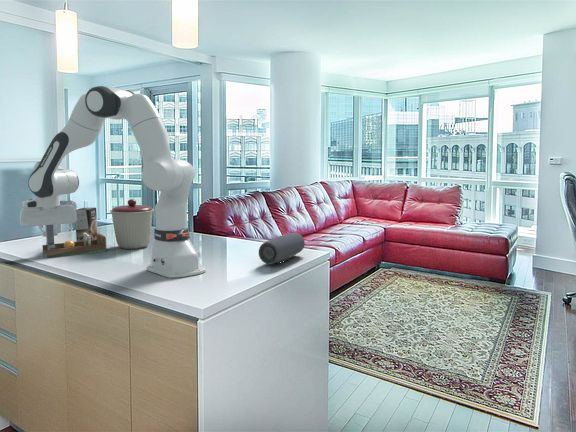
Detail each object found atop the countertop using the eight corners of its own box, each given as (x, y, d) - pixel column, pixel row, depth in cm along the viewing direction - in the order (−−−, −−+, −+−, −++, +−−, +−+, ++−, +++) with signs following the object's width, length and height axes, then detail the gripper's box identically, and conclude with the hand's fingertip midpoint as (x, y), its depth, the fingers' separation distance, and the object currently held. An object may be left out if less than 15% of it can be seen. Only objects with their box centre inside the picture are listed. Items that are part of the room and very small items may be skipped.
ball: (75, 250, 182) (75, 240, 182) (65, 251, 180) (64, 241, 179) (73, 248, 185) (73, 239, 185) (63, 249, 183) (62, 240, 182)
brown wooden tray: (106, 251, 186) (105, 235, 185) (47, 257, 173) (46, 240, 172) (99, 246, 195) (98, 230, 194) (42, 252, 182) (41, 236, 181)
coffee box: (91, 245, 195) (89, 209, 193) (76, 245, 195) (74, 209, 193) (98, 241, 204) (96, 207, 202) (84, 241, 204) (82, 207, 202)
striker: (56, 252, 176) (54, 225, 174) (49, 253, 174) (47, 225, 173) (52, 248, 183) (50, 222, 181) (46, 249, 181) (44, 222, 180)
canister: (129, 253, 182) (127, 202, 179) (102, 247, 192) (100, 199, 189) (163, 245, 197) (162, 198, 194) (137, 241, 207) (135, 196, 204)
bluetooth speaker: (285, 253, 184) (285, 230, 182) (305, 256, 180) (306, 232, 178) (256, 266, 164) (256, 239, 162) (278, 269, 160) (279, 242, 158)
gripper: (74, 199, 184) (76, 232, 186) (17, 202, 172) (20, 237, 174) (77, 200, 179) (79, 234, 181) (19, 203, 167) (21, 239, 169)
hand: (50, 235), depth 178 cm, fingers closed on striker, 2 cm apart
